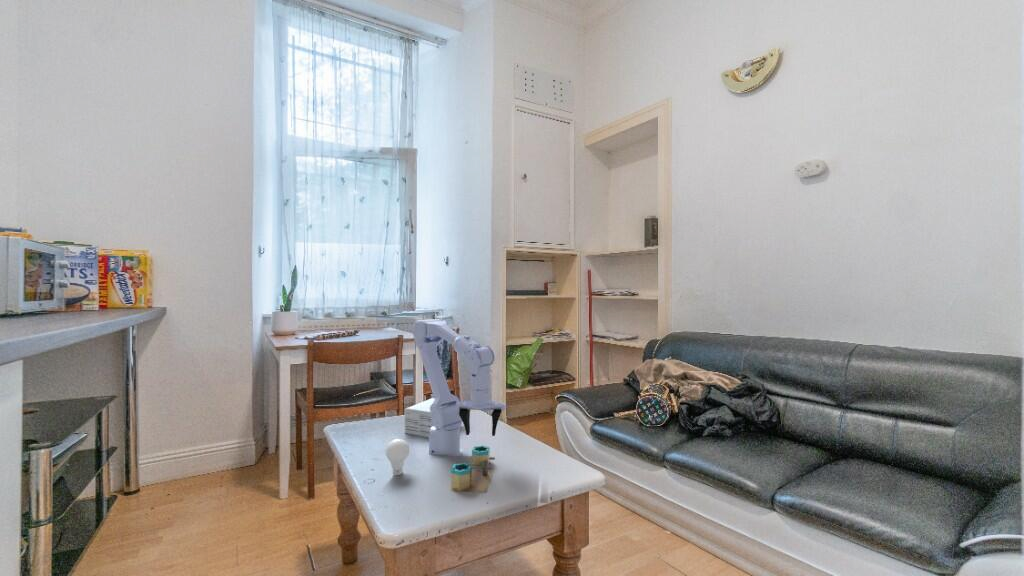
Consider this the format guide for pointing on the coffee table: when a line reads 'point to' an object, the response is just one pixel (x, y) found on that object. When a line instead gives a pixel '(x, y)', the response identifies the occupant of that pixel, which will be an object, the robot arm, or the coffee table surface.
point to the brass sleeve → (480, 455)
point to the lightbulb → (397, 454)
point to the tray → (481, 466)
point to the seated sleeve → (461, 476)
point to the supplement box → (419, 418)
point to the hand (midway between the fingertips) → (480, 434)
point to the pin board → (480, 479)
